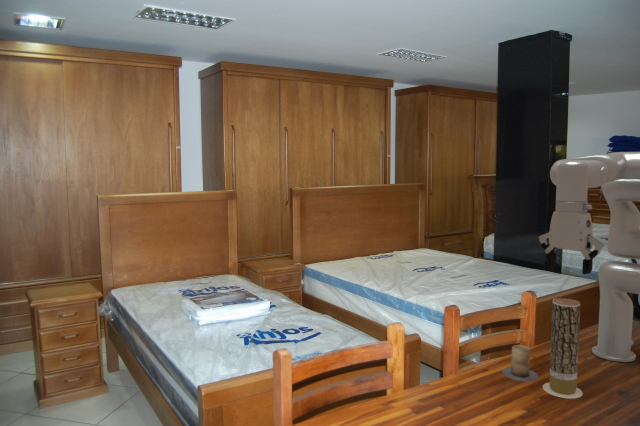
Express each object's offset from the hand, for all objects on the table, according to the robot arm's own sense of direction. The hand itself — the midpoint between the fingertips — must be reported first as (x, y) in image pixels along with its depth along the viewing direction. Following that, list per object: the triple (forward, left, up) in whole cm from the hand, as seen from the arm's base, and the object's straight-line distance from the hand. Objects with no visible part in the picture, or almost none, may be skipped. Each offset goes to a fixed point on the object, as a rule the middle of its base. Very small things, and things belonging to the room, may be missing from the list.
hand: (568, 270), depth 136 cm
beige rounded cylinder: (0, -13, -34) cm, 36 cm away
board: (0, -6, -35) cm, 35 cm away
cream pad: (0, 0, -35) cm, 35 cm away
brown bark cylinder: (0, 0, -34) cm, 34 cm away
